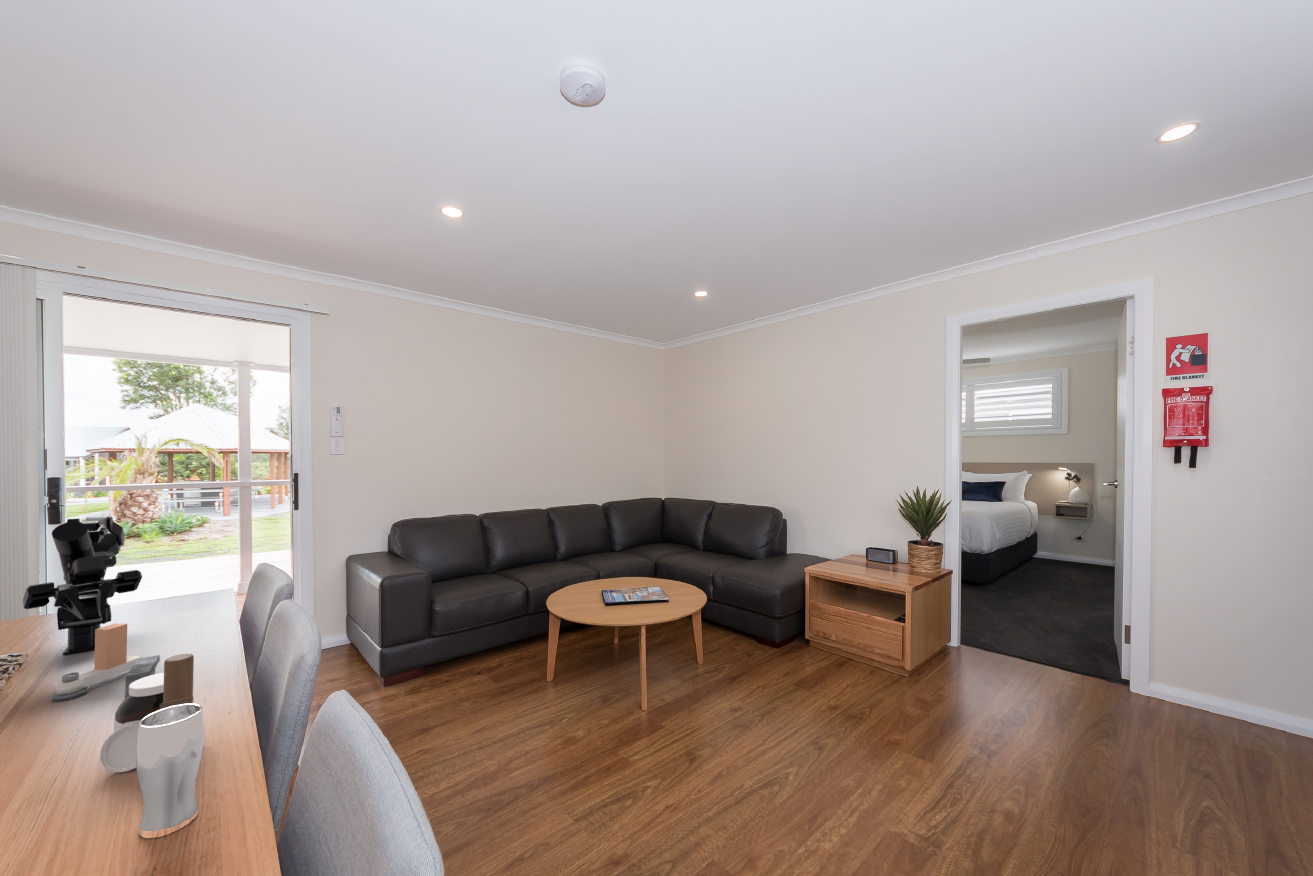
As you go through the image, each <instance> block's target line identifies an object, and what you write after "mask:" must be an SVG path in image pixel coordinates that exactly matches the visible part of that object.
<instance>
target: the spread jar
mask: <svg viewBox="0 0 1313 876" xmlns="http://www.w3.org/2000/svg"><path fill="white" fill-rule="evenodd" d="M163 693H164V672H159V673H155V674H154V675H150V676H147V677H144V678H141V679H138V680H136V681H134V682H132V683H131V684H130V685H129V696H128V697H127V698H126V699H125V698H124V700H123V701H122V702H121V703H120V705H119V706H118V707H117V709H116V711H115V714H114V719H113V720H114V722H113V733H111V734H110V736H108V737H107V738H106V740H105V741H104V743H103V744H102V746H101V749H100V753H99V761H100V763H101V766H102V767H103V768H104V769H106V770H107V771H110V772H113V773H123V772H128V771H132V770H134V769H137V768H136V745H137V736H138V729H139V722H140V720H141V719H143V718H144V717H145V716H147V715H149V714H151V713H153V712H156V711H158V710H160V704H161V703H163ZM193 704H195V698H194V697H193ZM123 768H125V769H123ZM124 770H125V771H124Z"/></svg>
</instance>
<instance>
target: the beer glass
mask: <svg viewBox="0 0 1313 876" xmlns="http://www.w3.org/2000/svg"><path fill="white" fill-rule="evenodd" d="M204 732H205V730H204V716H203V705H201V704H199V703H194V704H181V705H176V706H171V707H167V708H164V709H161V710H158V711H156V712H153V713H151V714H149V715H147V716H145V717H144V718H143V719H141V720H140V722H139V729H138V736H137V745H136V768H135V769H136V773H137V779H138V783H139V786H140V787H139V788H140V792H141V797H142V804H143V805H142V806H143V807H142V814H141V819H140V824H139V827H138V828H140V829H141V830H143V831H156V830H161V829H166V828H171V827H175V826H177V825H179V824H181V823H182V822H184V821H185V820H188V819H190V818H191V817H193V815H195V814H196V812H197V810H198V811H199V807H198V802H197V799H196V781H197V777H198V773H199V769H200V764H201V759H202V755H203V750H204V749H203V748H204V739H205V737H204V736H205V733H204Z"/></svg>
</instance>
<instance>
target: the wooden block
mask: <svg viewBox="0 0 1313 876" xmlns="http://www.w3.org/2000/svg"><path fill="white" fill-rule="evenodd" d="M194 660H195V657H194V654H193V653H180V654H176V655H173V656H170V657H167V658H166V659H165V660H164V663H163V673H164V693H163V703H161V704H160V710H161V709H164V708H167V707H171V706H176V705H181V704H193V698H194V696H193V695H194V665H195V664H194V662H195V661H194Z"/></svg>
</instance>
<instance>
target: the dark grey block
mask: <svg viewBox="0 0 1313 876" xmlns="http://www.w3.org/2000/svg"><path fill="white" fill-rule="evenodd" d="M160 656H161V655H160V654H158V655H157V654H156V655H152V656H150V655H149V656H147V657H144V656H143V658H138V660H137V661H136V662H135V664H134V665H133V666H132V668H131V669H130V670H129V671H127V673H126V674H125V684H124V685H125V688H124V690H125V691H124V700H125V699H126V698H127V697H128V696H129V685H130V684H131V683H132V682H134V681H136V680H138V679H141V678H144V677H147V676H150V675H154V674H156V669H157V666H158V665H159V663H160V661H161V660H160Z"/></svg>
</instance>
